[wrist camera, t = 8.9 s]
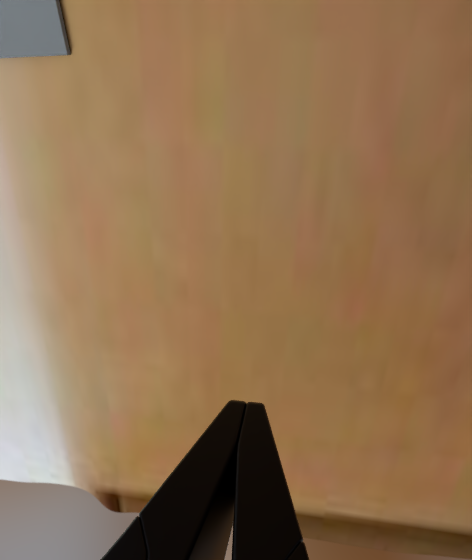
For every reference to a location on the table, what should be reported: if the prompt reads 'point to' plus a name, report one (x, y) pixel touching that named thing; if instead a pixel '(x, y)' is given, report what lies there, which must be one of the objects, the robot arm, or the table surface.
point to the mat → (32, 29)
